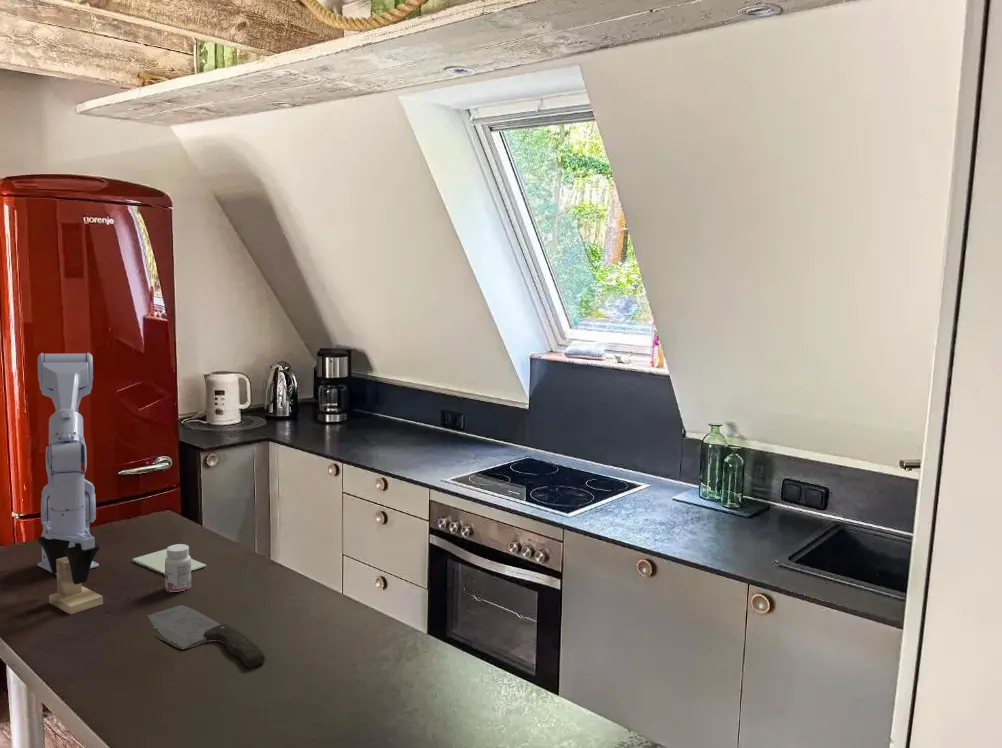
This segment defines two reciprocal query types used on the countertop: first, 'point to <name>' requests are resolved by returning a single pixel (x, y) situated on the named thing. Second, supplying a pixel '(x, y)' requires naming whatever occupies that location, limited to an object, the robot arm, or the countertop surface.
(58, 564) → the wooden post on base
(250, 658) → the cleaver
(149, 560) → the board
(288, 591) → the countertop surface
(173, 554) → the pill bottle
